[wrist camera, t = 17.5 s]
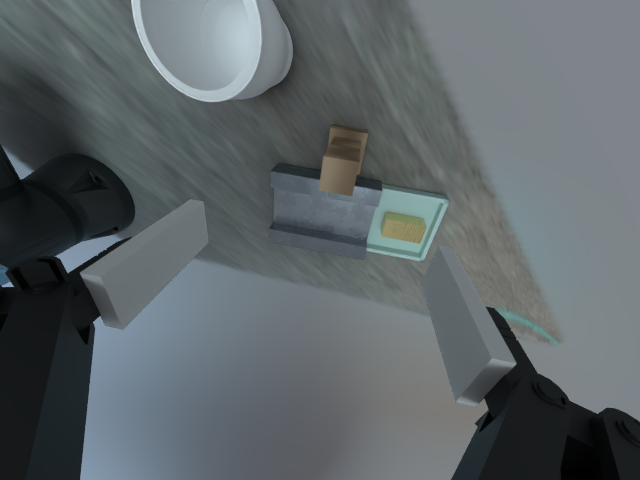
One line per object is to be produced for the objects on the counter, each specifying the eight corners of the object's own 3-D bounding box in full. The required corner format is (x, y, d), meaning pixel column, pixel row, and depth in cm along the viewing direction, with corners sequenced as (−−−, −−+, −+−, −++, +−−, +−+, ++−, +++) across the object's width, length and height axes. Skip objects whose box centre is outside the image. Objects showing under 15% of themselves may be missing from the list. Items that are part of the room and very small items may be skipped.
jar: (312, 14, 30) (274, -38, 17) (290, 108, 35) (248, 120, 23) (226, -21, 29) (121, -101, 17) (217, 79, 35) (133, 76, 22)
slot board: (276, 229, 46) (268, 241, 42) (279, 163, 40) (270, 171, 36) (363, 246, 45) (363, 260, 42) (381, 181, 39) (382, 191, 35)
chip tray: (364, 244, 45) (364, 250, 43) (380, 183, 39) (381, 188, 37) (420, 255, 44) (423, 261, 43) (446, 195, 38) (449, 200, 37)
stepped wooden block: (327, 163, 39) (310, 197, 27) (332, 124, 36) (316, 143, 24) (359, 169, 38) (357, 206, 27) (367, 130, 35) (369, 152, 24)
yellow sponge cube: (400, 240, 40) (420, 243, 39) (406, 223, 38) (426, 227, 38) (398, 230, 42) (416, 234, 42) (404, 214, 40) (423, 218, 40)
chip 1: (380, 227, 42) (381, 236, 40) (385, 211, 41) (386, 219, 38) (398, 230, 42) (400, 240, 40) (404, 214, 40) (406, 223, 38)
